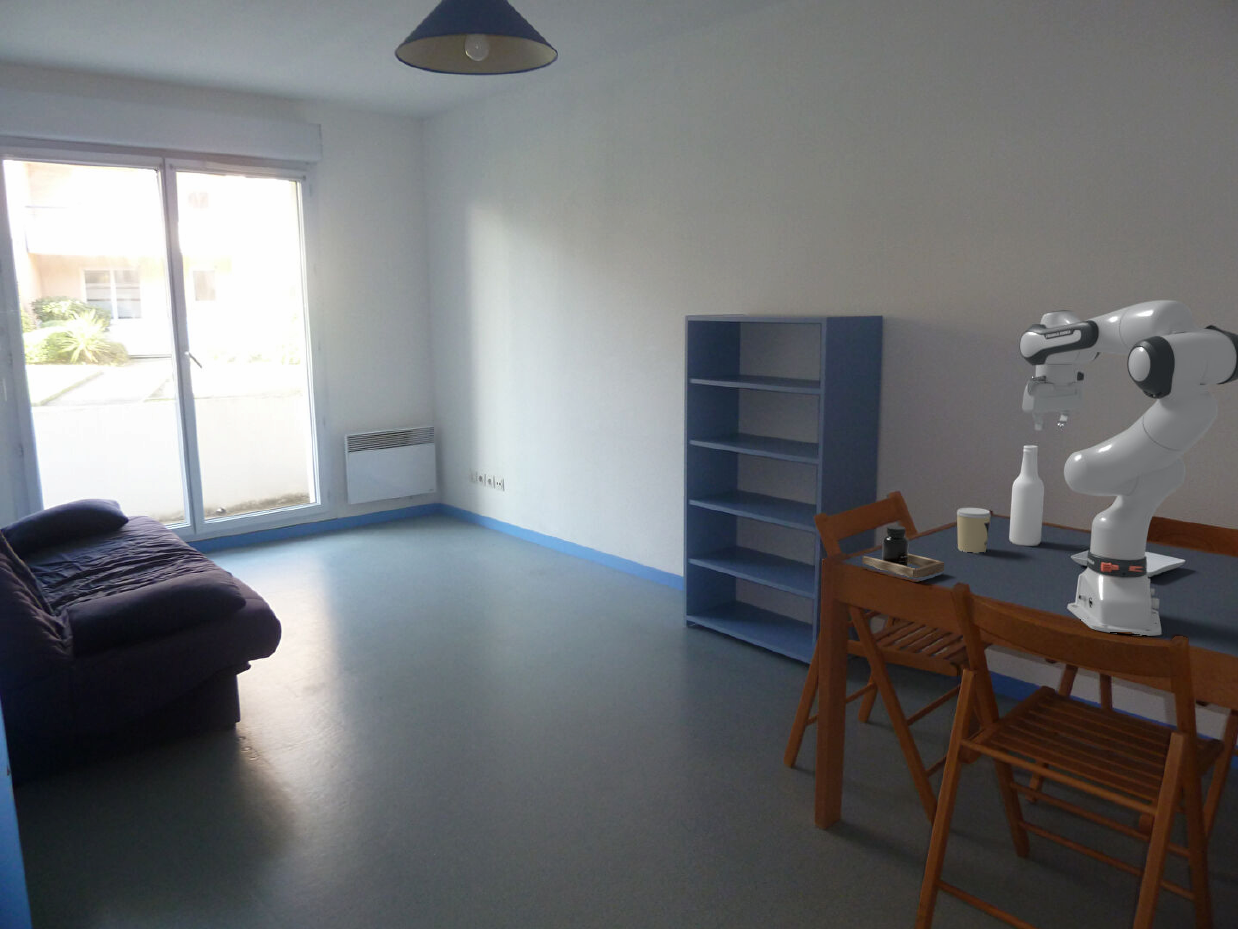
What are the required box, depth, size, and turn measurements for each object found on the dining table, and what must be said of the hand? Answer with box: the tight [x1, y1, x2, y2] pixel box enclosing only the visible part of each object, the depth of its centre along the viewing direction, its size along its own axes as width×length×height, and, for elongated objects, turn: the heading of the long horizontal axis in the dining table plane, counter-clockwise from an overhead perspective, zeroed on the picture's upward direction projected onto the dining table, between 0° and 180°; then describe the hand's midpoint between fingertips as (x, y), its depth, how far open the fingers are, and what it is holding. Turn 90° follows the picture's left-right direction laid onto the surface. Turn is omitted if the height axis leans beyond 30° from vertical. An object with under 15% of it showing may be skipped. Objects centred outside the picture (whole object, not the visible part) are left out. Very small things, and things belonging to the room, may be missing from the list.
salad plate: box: [1070, 550, 1186, 578], centre depth 239 cm, size 21×21×3 cm
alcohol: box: [1008, 444, 1045, 547], centre depth 264 cm, size 9×9×30 cm
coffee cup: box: [956, 507, 992, 554], centre depth 258 cm, size 9×9×12 cm
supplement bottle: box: [881, 525, 910, 566], centre depth 239 cm, size 7×7×12 cm
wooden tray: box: [862, 553, 945, 578], centre depth 238 cm, size 17×12×4 cm
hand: (1050, 428), depth 225 cm, fingers open, 8 cm apart
